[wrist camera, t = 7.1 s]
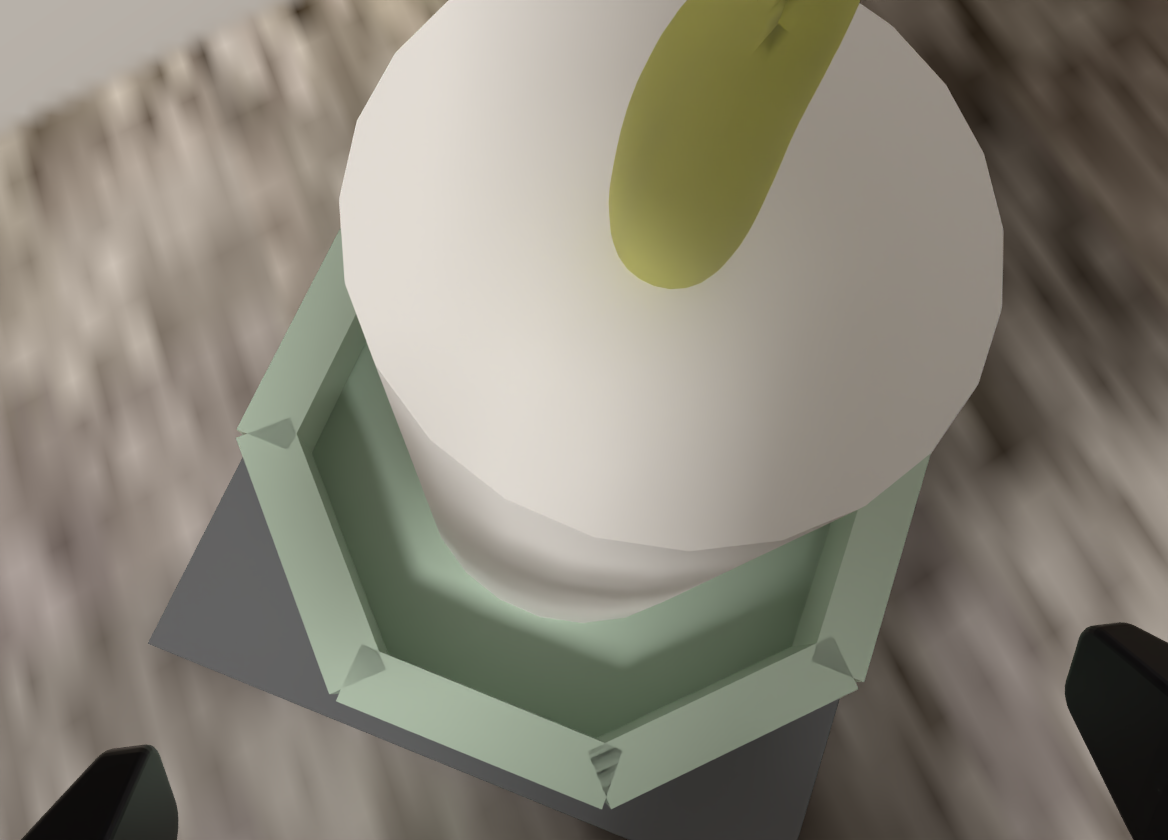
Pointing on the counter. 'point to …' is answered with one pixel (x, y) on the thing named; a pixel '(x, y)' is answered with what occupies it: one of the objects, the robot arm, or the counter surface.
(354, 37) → the counter surface
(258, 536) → the mat
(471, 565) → the candle
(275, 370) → the dish
